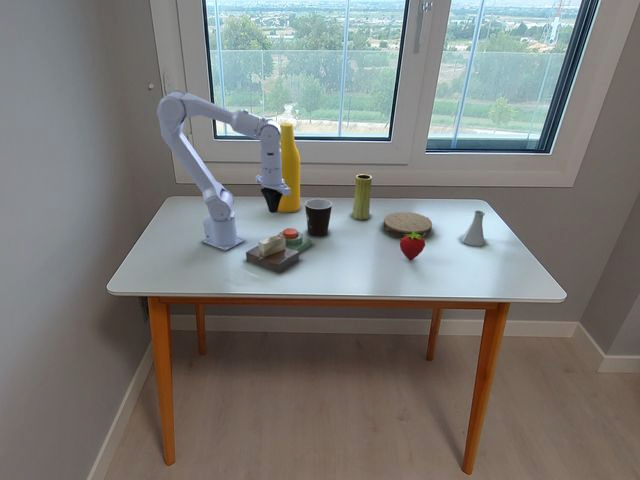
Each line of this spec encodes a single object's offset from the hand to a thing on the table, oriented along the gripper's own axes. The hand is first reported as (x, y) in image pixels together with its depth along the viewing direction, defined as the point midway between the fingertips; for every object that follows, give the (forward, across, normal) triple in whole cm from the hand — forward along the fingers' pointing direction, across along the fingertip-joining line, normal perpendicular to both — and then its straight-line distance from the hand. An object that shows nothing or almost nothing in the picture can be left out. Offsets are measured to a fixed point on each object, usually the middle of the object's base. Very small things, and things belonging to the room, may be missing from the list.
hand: (273, 211), depth 134 cm
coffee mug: (+11, -2, -17) cm, 20 cm away
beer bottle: (+11, +20, -20) cm, 31 cm away
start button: (+7, -4, -3) cm, 9 cm away
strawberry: (+11, -33, -25) cm, 43 cm away
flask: (+11, -38, -51) cm, 65 cm away
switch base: (+10, -9, +7) cm, 15 cm away
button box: (+10, -4, -3) cm, 12 cm away
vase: (+11, -1, -36) cm, 38 cm away
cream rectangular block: (+7, -9, +7) cm, 14 cm away
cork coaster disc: (+11, -19, -41) cm, 47 cm away
